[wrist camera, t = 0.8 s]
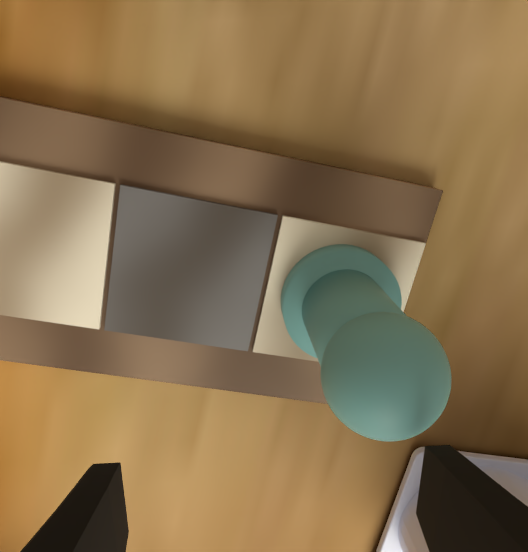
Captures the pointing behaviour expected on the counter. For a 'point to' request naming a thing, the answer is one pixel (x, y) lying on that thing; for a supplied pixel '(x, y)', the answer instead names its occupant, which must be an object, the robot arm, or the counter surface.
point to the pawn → (365, 343)
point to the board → (176, 249)
